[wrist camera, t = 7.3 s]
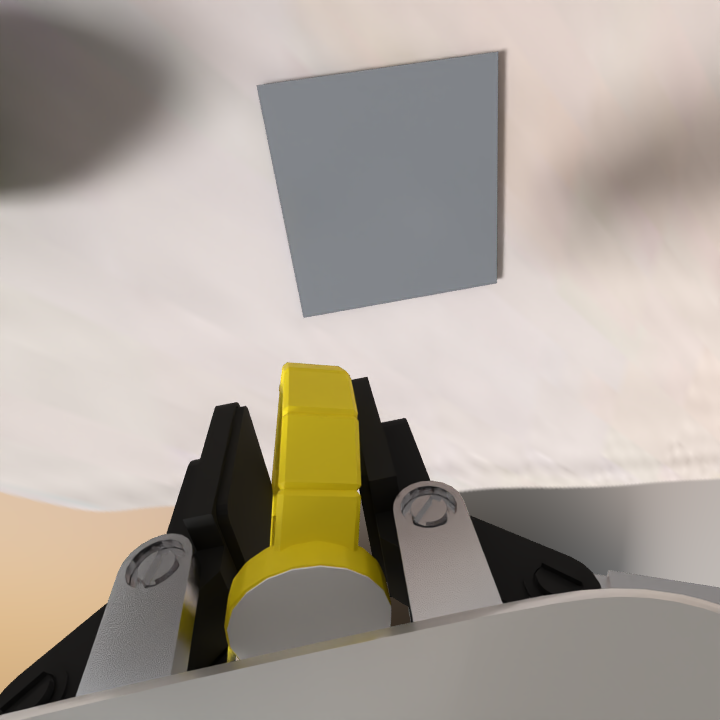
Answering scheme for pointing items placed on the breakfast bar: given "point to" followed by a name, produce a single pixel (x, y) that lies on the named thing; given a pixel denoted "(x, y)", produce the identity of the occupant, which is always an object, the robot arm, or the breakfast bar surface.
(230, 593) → the watch
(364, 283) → the slate coaster
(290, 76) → the breakfast bar surface
